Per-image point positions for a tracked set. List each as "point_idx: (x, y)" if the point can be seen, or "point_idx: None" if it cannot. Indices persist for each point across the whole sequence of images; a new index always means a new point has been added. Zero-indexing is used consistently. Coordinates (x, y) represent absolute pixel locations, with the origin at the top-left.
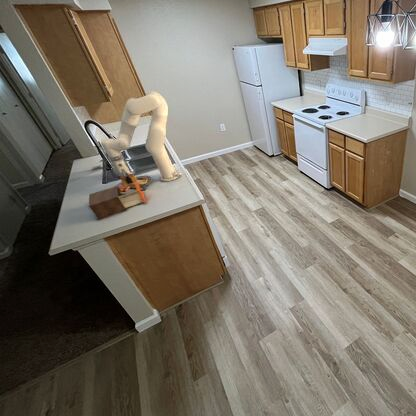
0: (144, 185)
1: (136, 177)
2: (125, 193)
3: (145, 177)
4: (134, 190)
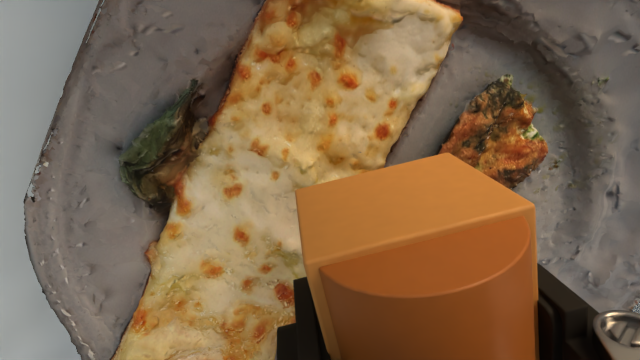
0: (544, 20)
1: (68, 233)
2: (584, 288)
3: (142, 39)
4: (540, 187)
